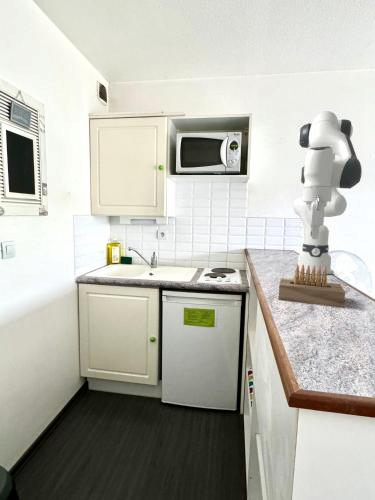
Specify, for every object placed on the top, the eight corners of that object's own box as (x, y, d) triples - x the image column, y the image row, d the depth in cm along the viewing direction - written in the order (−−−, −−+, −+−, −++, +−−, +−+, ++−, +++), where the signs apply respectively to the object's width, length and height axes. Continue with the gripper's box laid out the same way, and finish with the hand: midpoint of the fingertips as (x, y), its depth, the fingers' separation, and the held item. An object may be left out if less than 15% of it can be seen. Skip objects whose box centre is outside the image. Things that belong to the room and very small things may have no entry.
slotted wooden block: (280, 291, 106) (280, 278, 105) (338, 297, 99) (340, 283, 98) (278, 299, 96) (279, 285, 95) (343, 307, 89) (345, 292, 88)
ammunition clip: (325, 299, 96) (328, 265, 95) (325, 301, 95) (328, 266, 93) (292, 295, 100) (294, 263, 99) (292, 297, 99) (294, 264, 97)
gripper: (330, 194, 82) (327, 241, 84) (324, 197, 101) (321, 235, 103) (307, 195, 84) (304, 240, 86) (305, 197, 103) (303, 234, 105)
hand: (313, 237), depth 94 cm, fingers open, 8 cm apart
